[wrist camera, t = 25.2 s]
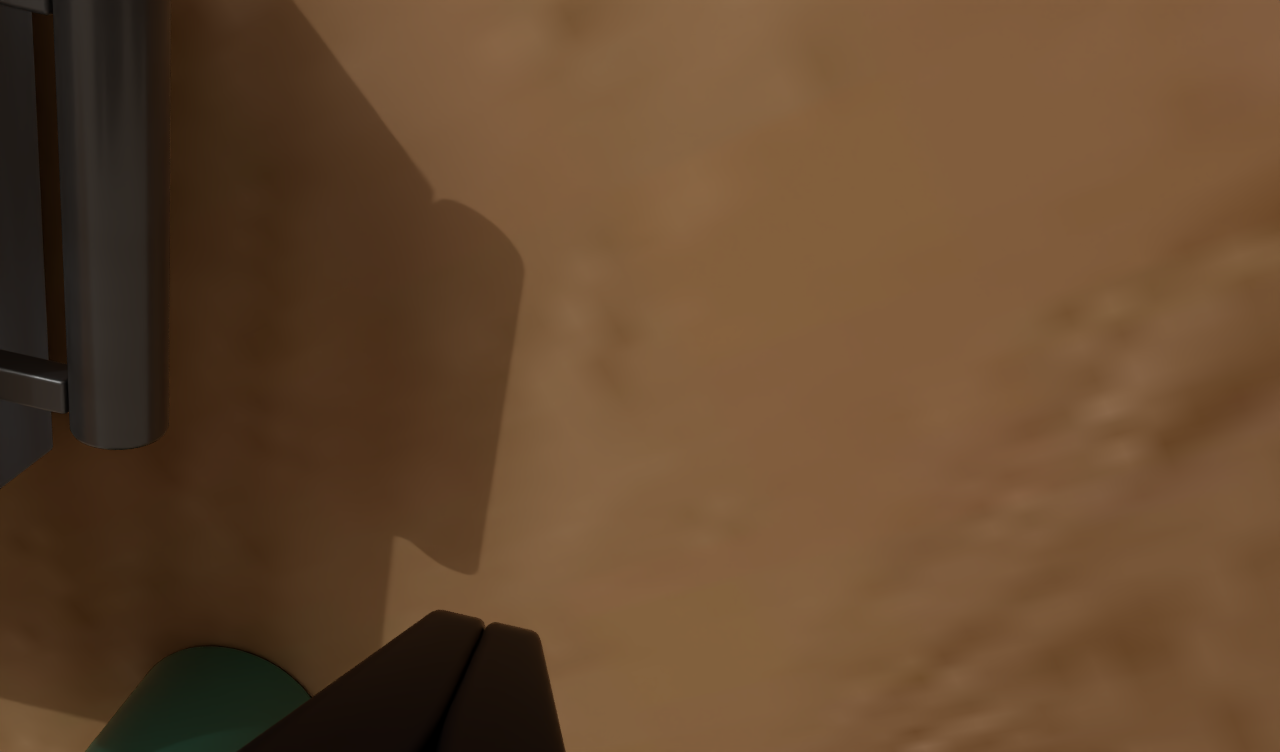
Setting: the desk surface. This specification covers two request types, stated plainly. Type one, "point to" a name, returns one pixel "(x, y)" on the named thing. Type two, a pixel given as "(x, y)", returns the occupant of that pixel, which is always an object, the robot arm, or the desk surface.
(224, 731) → the tin
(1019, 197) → the desk surface
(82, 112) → the drawer
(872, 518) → the desk surface
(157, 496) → the desk surface
